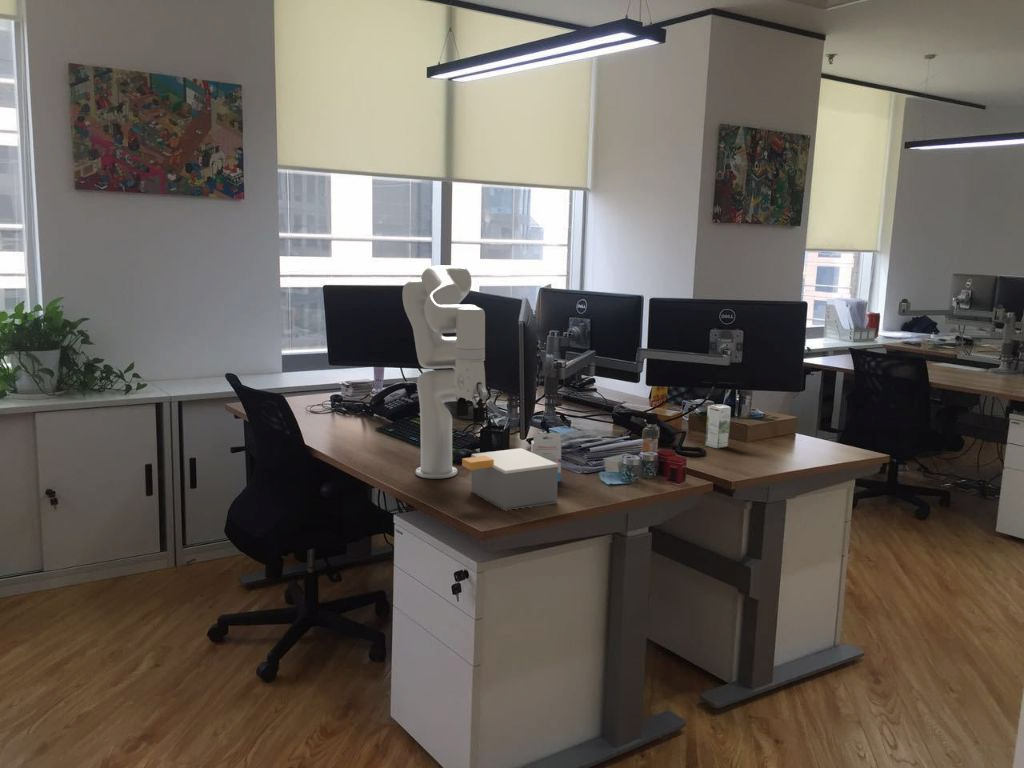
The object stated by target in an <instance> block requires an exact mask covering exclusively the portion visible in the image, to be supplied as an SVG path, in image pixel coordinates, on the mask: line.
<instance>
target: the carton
mask: <svg viewBox="0 0 1024 768" xmlns="http://www.w3.org/2000/svg"><path fill="white" fill-rule="evenodd" d="M470 471H471V479H470V480H471V481H470V483H471V493H473V494H474V493H475V495H476V494H477V495H476V496H478V497H479V498H481V497H482V499H483V498H484V499H483V500H484V501H487V502H488V501H489V502H488V503H490V502H491V503H490V504H492V503H493V504H494V505H493V504H492V505H493V506H495V505H496V506H495V507H497V506H498V507H497V508H499V507H500V508H501V510H502V509H503V510H502V511H504V510H505V512H508V511H507V510H510V511H512V510H511V509H516V510H519V509H518V508H522V509H526V508H525V507H529V508H533V506H535V507H540V506H548V505H552V504H557V503H558V483H559V482H558V467H552V468H545V469H537V470H530V471H523V472H515V473H508V474H505V473H503V472H501V471H499V470H497V469H495V468H493V467H490V468H482V469H474V470H470ZM500 508H499V509H500Z"/></svg>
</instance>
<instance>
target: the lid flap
mask: <svg viewBox="0 0 1024 768" xmlns="http://www.w3.org/2000/svg"><path fill="white" fill-rule="evenodd" d="M461 462H462V463H461V466H462V467H464V468H466V469H467V470H469V471H471V470H474V469H482V468H490V467H493V468H495V469H497V470H499V471H501V472H503V473H505V474H508V473H515V472H523V471H530V470H537V469H545V468H552V467H558V464H557V463H555V462H552V461H550V460H548V459H545V458H543V457H541V456H538V455H536V454H534V453H531V451H529V450H526V449H524V448H521V447H520V448H519V447H518V448H511V449H504V450H496V451H486V452H479V453H471V456H470V457H464V458H461Z"/></svg>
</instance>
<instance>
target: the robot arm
mask: <svg viewBox="0 0 1024 768" xmlns="http://www.w3.org/2000/svg"><path fill="white" fill-rule="evenodd" d="M471 288H472V276H471V273H470V272H469V269H467V268H466V267H464V266H461V265H433V266H429V267H428V268H426V269H425V270H423V272H422V273H421V277H420V279H413V280H410V281H408V282H407V283H405V284H404V286H403V288H402V302H403V303H402V305H403V308H404V312H405V313H406V316H407V318H408V320H409V322H410V324H411V327H412V331H413V332H412V333H413V337H414V343H415V345H414V346H415V351H416V357H417V361H418V363H419V365H420V367H422V368H424V369H432V370H428V371H424V372H422V373H421V374H420V375H419V376H418V378H417V381H416V389H417V395H418V401H419V402H418V403H419V416H420V421H419V422H420V424H419V425H420V426H419V427H420V466H419V467H418V468H416V469H415V475H416V476H418V477H420V478H424V479H432V480H433V479H434V480H435V479H447V478H452V477H454V476H457V474H458V468H456V467H455V466H453V416H452V414H451V412H450V410H449V409H448V408H447V406H446V405H445V403H448V402H456V416H457V417H464V416H465V417H466V416H468V414H469V400H471V401H472V404H473V406H474V407H472V422H473V423H475V424H478V423H484V422H485V421H486V418H485V417H486V415H485V413H486V411H485V408H486V406H487V405H486V403H487V399H488V395H489V394H488V391H487V389H486V370H485V362H484V361H486V359H485V358H486V313H485V310H484V309H483V308H481V307H479V306H477V305H475V304H461V302H462V301H463V300H464V299H465V298H466V297H467V296H468V294H469V293H470V291H471ZM454 333H455V336H444V335H443V334H454ZM433 369H437V370H433Z"/></svg>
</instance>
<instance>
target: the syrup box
mask: <svg viewBox="0 0 1024 768" xmlns="http://www.w3.org/2000/svg"><path fill="white" fill-rule="evenodd" d="M731 410H732V407H731V406H729V405H726V404H718V403H717V404H712V405H707V410H706V411H707V414H706V427H705V441H704V442H705V443H704V446H707V447H710V448H713V449H722V448H723V449H724V448H727V447H729V442H730V441H729V440H730V426H731V413H732V412H731Z"/></svg>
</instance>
